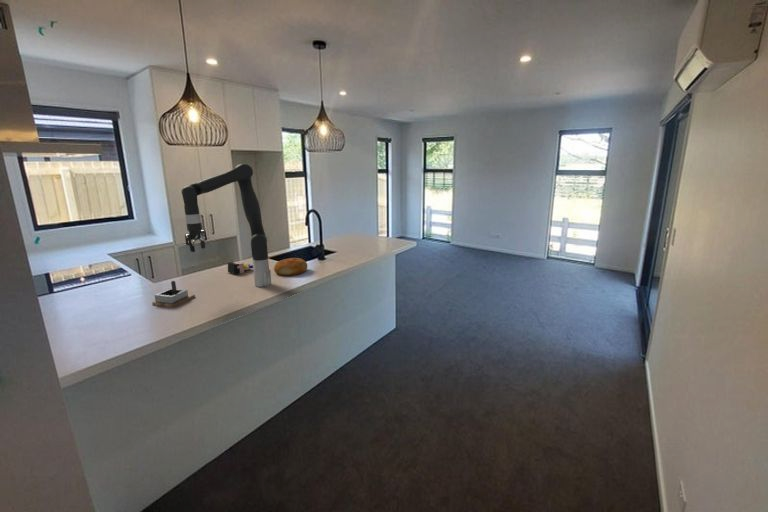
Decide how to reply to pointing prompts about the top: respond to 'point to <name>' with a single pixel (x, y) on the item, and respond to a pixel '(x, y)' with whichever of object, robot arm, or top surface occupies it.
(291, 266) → the bread
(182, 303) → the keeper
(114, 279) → the top surface
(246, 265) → the toy
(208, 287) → the top surface
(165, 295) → the link
